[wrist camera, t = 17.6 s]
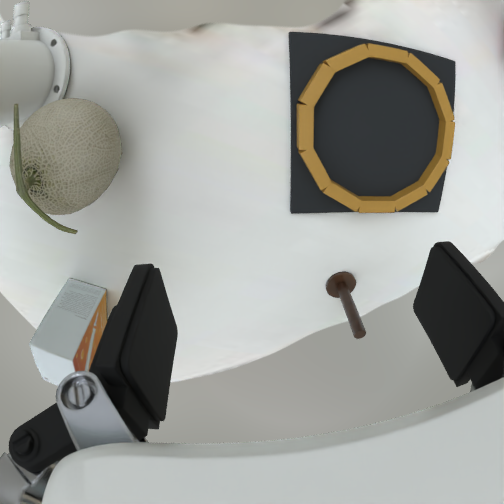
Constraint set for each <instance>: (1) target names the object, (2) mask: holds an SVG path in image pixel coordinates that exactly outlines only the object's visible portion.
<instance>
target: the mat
mask: <svg viewBox="0 0 504 504" xmlns="http://www.w3.org/2000/svg"><path fill="white" fill-rule="evenodd" d="M368 43H370V44H376V45H381V46H386V47H391V48H396V49H401V50H405V51H408V53H412V54H413V55H414V56H415V57H416V58H417V59H418V60H420V61H421V62H422V63H423V64H424V65H425V66H426V67H427V68H428V69H429V70H430V71H431V72H433V73H434V74H435V75H436V76H437V77H438V78H439V79H440V81H439V82H440V83H442V84H443V87H444V89H445V92H446V95H447V98H448V100H449V103H450V106H451V109H452V112H454V96H455V61H452V60H449V59H446V58H443V57H440V56H436V55H433V54H429V53H426V52H422V51H419V50H415V49H411V48H407V47H402V46H398V45H393V44H389V43H384V42H378V41H373V40H367V39H361V38H354V37H347V36H339V35H329V34H318V33H304V32H289V52H290V90H291V202H290V212H291V213H329V212H355V211H353V210H352V209H350V208H348V207H347V206H345V205H343V204H342V203H340V202H338V201H336V200H335V199H333V198H331V197H329V196H328V195H326V194H324V193H323V192H322V190H320V189H319V187H318V185H317V184H316V182H315V180H314V178H313V176H312V175H311V173H310V171H309V169H308V168H307V166H306V164H305V162H304V161H303V159H302V157H301V156H300V154H299V152H298V150H299V149H298V148H297V104H303V103H302V102H300V101H298V99H299V97H300V95H301V94H302V92H303V90H304V89H305V87H306V85H307V84H308V82H309V80H310V79H311V77H312V75H313V74H314V72H315V71H316V69H317V67H318V66H319V64H321V63H323V61H324V60H326V59H328V58H330V57H333V56H335V55H337V54H339V53H341V52H344V51H346V50H348V49H351V48H353V47H355V46H358V45H361V44H368ZM452 122H453V120H452ZM438 129H439V117H438V114H437V111H436V109H435V106H434V103H433V101H432V98H431V95H430V93H429V90H428V88H427V86H426V85H425V84H423V83H422V82H421V81H420V80H419V79H418V78H417V77H416V76H415V75H413V74H412V73H411V72H410V71H409V70H408V69H406V68H405V67H404V66H403V65H402V64H400V63H395V62H390V61H385V60H379V59H373V58H366V59H364V60H361V61H359V62H357V63H355V64H352V65H350V66H348V67H346V68H344V69H341V70H339V71H337V72H335V74H334V75H333V77H332V78H331V80H330V82H329V83H328V85H327V87H326V88H325V90H324V91H323V93H322V95H321V96H320V98H319V100H318V101H317V103H316V104H315V106H314V144H313V148H314V150H315V152H316V154H317V155H318V157H319V159H320V161H321V163H322V165H323V166H324V168H325V170H326V172H327V174H328V176H329V178H330V179H331V180H333V181H334V182H336V183H338V184H339V185H341V186H343V187H344V188H346V189H347V190H349V191H351V192H352V193H354V194H356V195H357V196H392V195H394V194H396V193H397V192H399V191H401V190H403V189H405V188H406V187H408V186H410V185H412V184H414V183H415V182H417V181H418V180H419V179H420V177H421V176H422V174H423V172H424V171H425V169H426V168H427V166H428V165H429V163H430V162H431V160H432V159H433V157H434V155H435V154H436V147H437V139H438ZM447 160H448V159H447ZM446 169H447V167H446ZM446 169H445V170H444V172H443V173H442V175H441V176H440V178H439V180H438V181H437V183H436V184H435V186H434V187H433V189H432V190H431V192H429V191H427V190H426V191H427V195H426V196H424V197H422V198H421V199H419V200H417V201H415V202H414V203H412V204H410V205H408V206H406V207H405V208H403V209H401V210H399V211H396V210H395V212H438V210H439V205H440V201H441V196H442V191H443V186H444V180H445V175H446ZM356 212H358V211H356Z"/></svg>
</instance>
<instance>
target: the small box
mask: <svg viewBox="0 0 504 504" xmlns="http://www.w3.org/2000/svg"><path fill="white" fill-rule="evenodd" d="M106 323H107V310H106V289H105V288H101V287H98V286H94V285H91V284H88V283H84V282H81V281H78V280H75V279H71V278H69V279H68V280H67V282H66V283H65V285H64V286H63V288H62V290H61V291H60V293H59V294H58V296H57V297H56V299H55V300H54V302H53V304H52V305H51V307H50V308H49V310H48V312H47V313H46V315H45V317H44V318H43V320H42V322H41V323H40V325H39V327H38V329H37V330H36V332H35V334H34V336H33V337H32V339H31V341H30V343H29V345H30V348H31V351H32V354H33V357H34V360H35V363H36V365H37V367H38V369H39V371H40V374H41V376H42V378H43V379H44V380H46V381H48V382H50V383H53V384H55V385H58V386H59V384H60V383H61V381H62V380H63V379H64V378H65V377H66V376H68V375H69V374H71V373H73V372H76V371H83V370H84V371H89V369H90V366H91V363H92V361H93V358H94V355H95V352H96V350H97V347H98V344H99V341H100V339H101V336H102V334H103V331H104V328H105V326H106Z"/></svg>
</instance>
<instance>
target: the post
mask: <svg viewBox="0 0 504 504" xmlns="http://www.w3.org/2000/svg"><path fill="white" fill-rule="evenodd" d="M355 285H356V280H355V278H354V276H353V275H352V274H350V273H348V272H339V273H336V274H334V275H333V276H331V277H330V278H329V280H328V281H327V283H326V290H327V292H328V294H329V295H331V296H332V297H336V298H340V299H341V301H342V304H343V307H344V310H345V312H346V315H347V318H348V321H349V323H350V326H351V329H352V332H353V335H354V337H355V338H357V339H359V338H362V337H364V336H365V334H366V331H365V328H364V326H363V323H362V321H361V318H360V316H359V313H358V311H357V308H356V306H355V303H354V301H353V299H352V296H351V294H350V293H351V292H352V291H353V289H354V288H355Z"/></svg>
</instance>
